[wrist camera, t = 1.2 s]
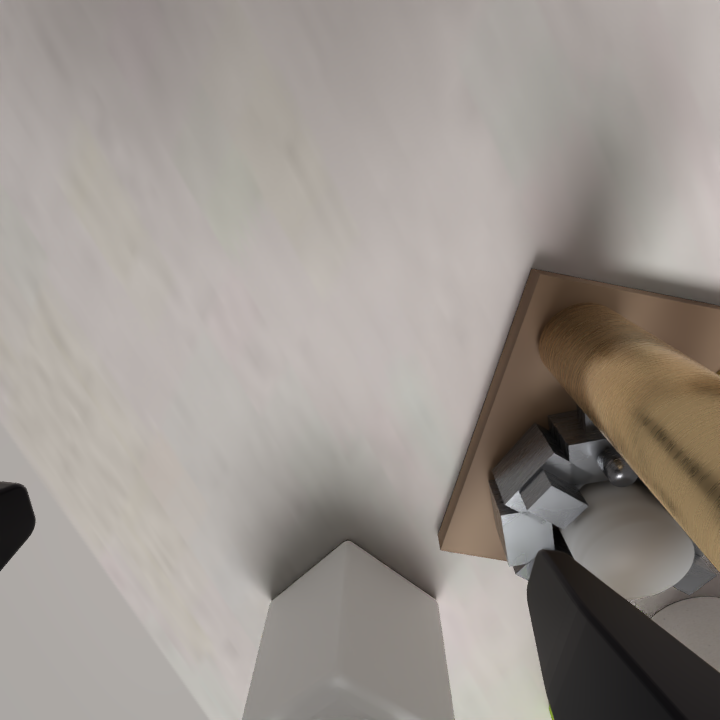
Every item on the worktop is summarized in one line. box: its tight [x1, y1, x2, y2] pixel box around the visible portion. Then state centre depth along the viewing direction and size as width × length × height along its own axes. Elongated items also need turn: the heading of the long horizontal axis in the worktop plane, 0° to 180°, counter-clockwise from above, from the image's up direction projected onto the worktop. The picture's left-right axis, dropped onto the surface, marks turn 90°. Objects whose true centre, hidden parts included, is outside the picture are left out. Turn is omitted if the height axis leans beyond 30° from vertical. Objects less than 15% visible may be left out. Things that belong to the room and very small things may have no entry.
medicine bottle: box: [242, 541, 455, 720], centre depth 20 cm, size 7×7×12 cm
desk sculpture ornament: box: [488, 302, 720, 595], centre depth 15 cm, size 9×14×10 cm, turn 14°
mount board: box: [438, 269, 720, 600], centre depth 18 cm, size 11×14×5 cm
